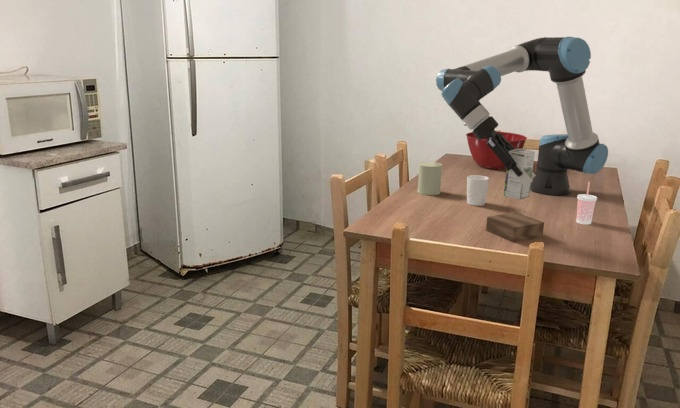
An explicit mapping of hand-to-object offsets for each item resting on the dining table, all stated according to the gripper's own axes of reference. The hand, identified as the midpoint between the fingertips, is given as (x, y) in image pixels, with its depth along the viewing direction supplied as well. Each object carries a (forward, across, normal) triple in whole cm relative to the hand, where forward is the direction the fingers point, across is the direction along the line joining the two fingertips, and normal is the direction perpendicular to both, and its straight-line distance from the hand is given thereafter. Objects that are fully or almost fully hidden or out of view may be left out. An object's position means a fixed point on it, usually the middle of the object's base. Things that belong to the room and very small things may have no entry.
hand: (530, 180), depth 167 cm
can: (-17, -38, -42) cm, 59 cm away
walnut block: (+10, 0, -15) cm, 18 cm away
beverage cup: (+24, -24, -1) cm, 34 cm away
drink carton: (+2, 0, -6) cm, 7 cm away
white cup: (-3, -30, -28) cm, 41 cm away
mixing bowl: (-8, -102, -33) cm, 108 cm away
